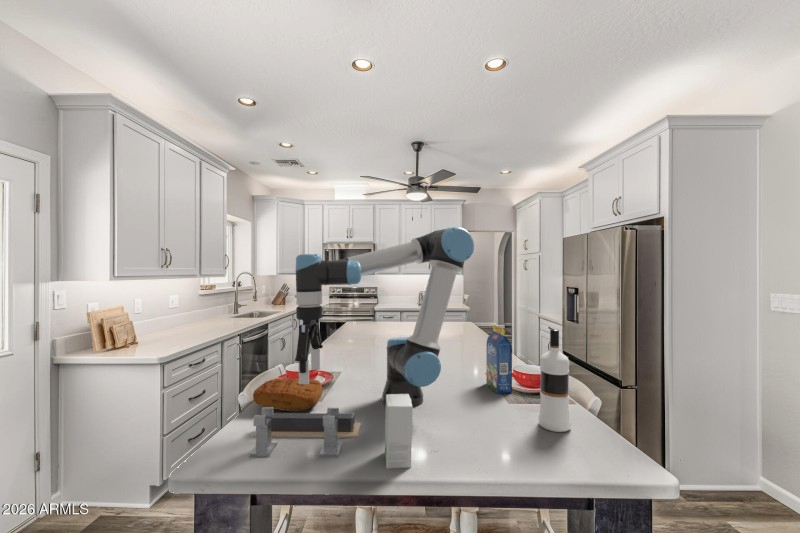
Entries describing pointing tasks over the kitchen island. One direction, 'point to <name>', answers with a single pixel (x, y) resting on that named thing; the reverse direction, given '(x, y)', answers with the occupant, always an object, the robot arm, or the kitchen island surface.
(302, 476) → the kitchen island surface
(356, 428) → the mat
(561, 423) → the vodka
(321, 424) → the rail
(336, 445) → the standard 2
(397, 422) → the skincare box
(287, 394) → the inscribed clay slab
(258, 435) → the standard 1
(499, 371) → the blue food package
